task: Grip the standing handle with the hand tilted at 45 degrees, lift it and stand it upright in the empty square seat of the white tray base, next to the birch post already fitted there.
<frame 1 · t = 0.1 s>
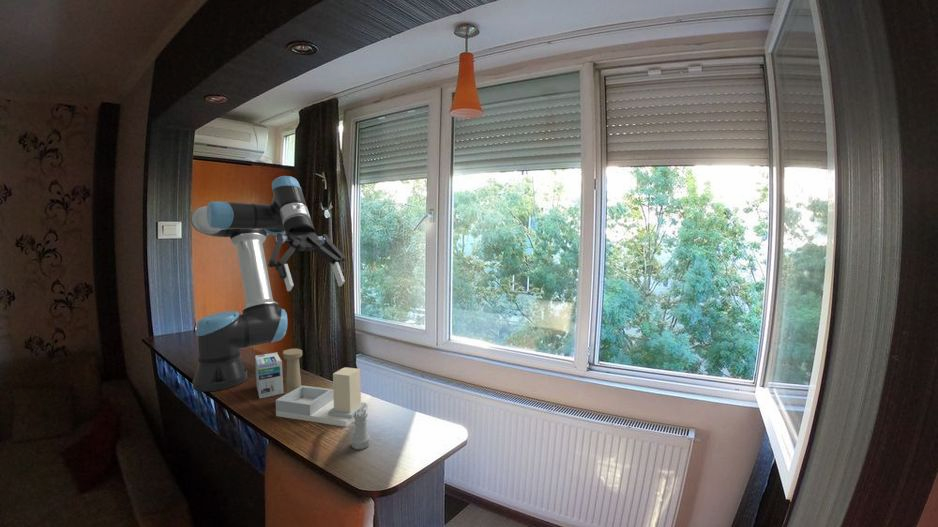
hand: (317, 286, 93), 36 cm above the counter, tool tilted 35°, fingers open, 13 cm apart
rook chess piece: (361, 445, 83), on the counter
handle: (294, 401, 105), on the counter
light bulb box: (269, 391, 113), on the counter
white tray base: (322, 412, 98), on the counter
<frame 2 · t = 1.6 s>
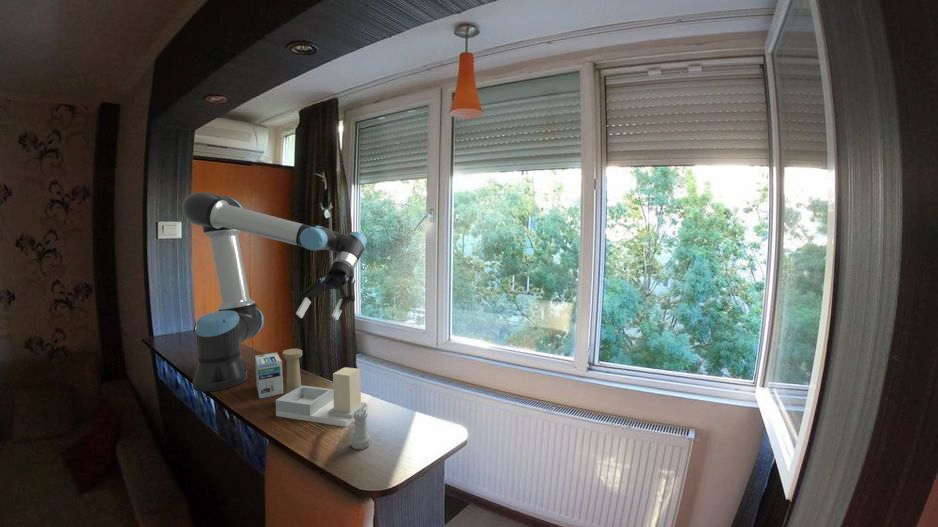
hand: (316, 317, 114), 23 cm above the counter, tool tilted 45°, fingers open, 13 cm apart
nothing on the counter moved.
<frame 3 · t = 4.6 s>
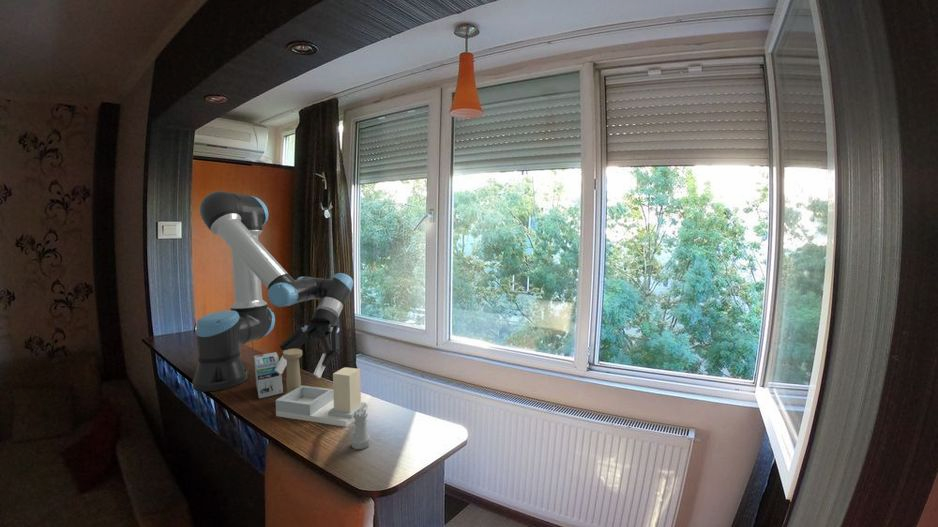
hand: (296, 374, 105), 8 cm above the counter, tool tilted 45°, fingers open, 13 cm apart
light bulb box: (269, 391, 113), on the counter, touching gripper
everything else where it was.
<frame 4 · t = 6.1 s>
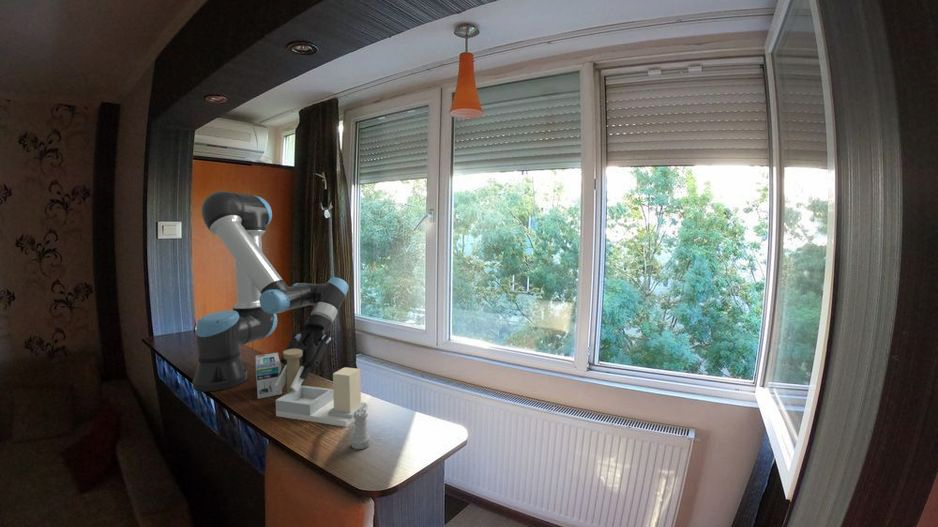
hand: (286, 388, 101), 5 cm above the counter, tool tilted 45°, fingers open, 5 cm apart
handle: (294, 401, 105), on the counter, touching gripper, white tray base
light bulb box: (269, 391, 112), on the counter
everything else where it was.
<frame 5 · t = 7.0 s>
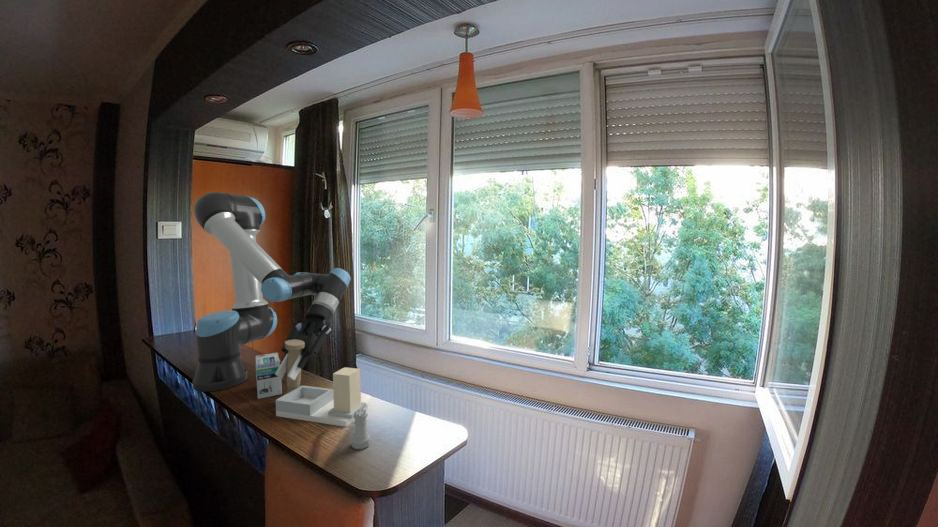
hand: (284, 377, 101), 9 cm above the counter, tool tilted 45°, fingers closed on handle, 4 cm apart
handle: (293, 392, 105), point 3 cm above the counter, touching gripper
everything else where it was.
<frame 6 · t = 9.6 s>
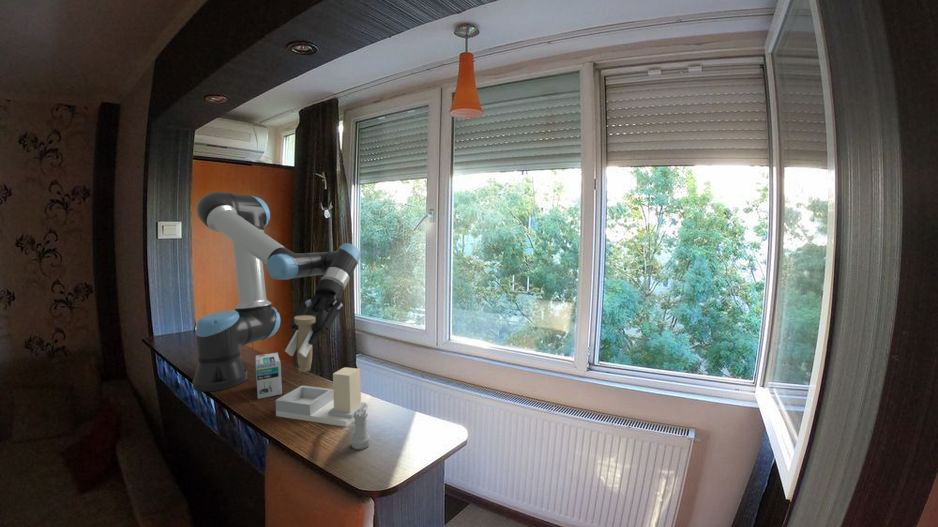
hand: (295, 353, 95), 17 cm above the counter, tool tilted 45°, fingers closed on handle, 4 cm apart
handle: (304, 371, 99), point 11 cm above the counter, touching gripper
everything else where it was.
when the fingers open (8 cm above the counter, at t = 12.6 s): handle stays where it is, resting on white tray base.
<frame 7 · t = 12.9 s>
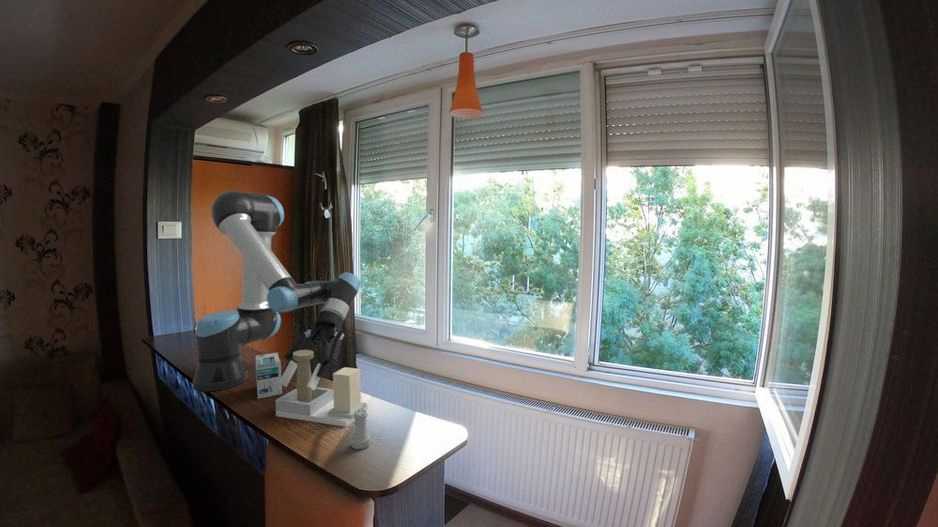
hand: (296, 386, 96), 8 cm above the counter, tool tilted 45°, fingers open, 8 cm apart
handle: (305, 405, 99), point 1 cm above the counter, touching white tray base
everything else where it was.
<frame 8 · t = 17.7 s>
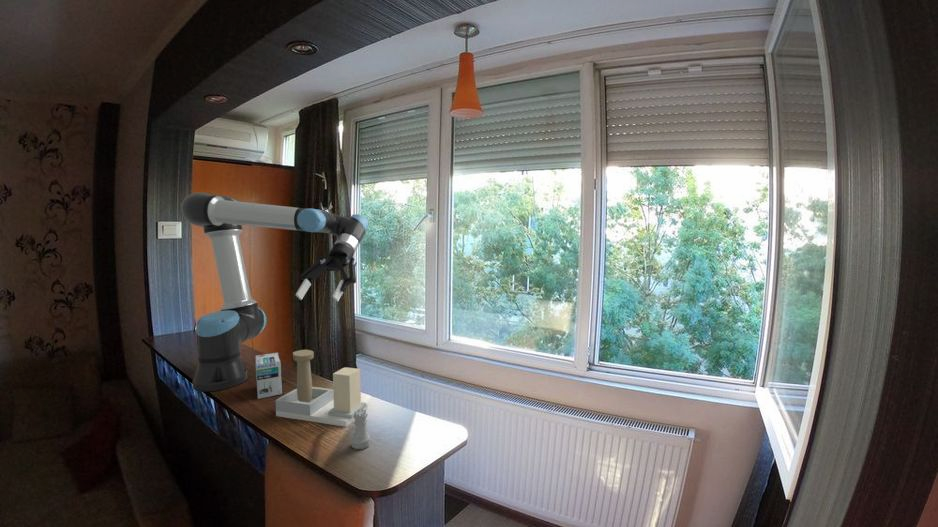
hand: (316, 298, 111), 30 cm above the counter, tool tilted 45°, fingers open, 13 cm apart
nothing on the counter moved.
at the end: handle 0.1 cm from the target spot on the white tray base, point 1.3 cm above the white tray base's base; handle tilted 0°; the gripper is holding nothing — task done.
